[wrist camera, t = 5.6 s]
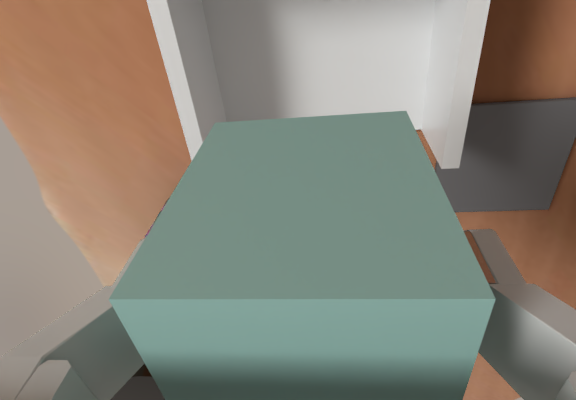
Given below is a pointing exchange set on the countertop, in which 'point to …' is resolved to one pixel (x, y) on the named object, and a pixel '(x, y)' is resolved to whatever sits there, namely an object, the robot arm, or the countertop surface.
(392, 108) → the bin
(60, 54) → the countertop surface
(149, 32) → the countertop surface
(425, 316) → the block
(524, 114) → the mat
